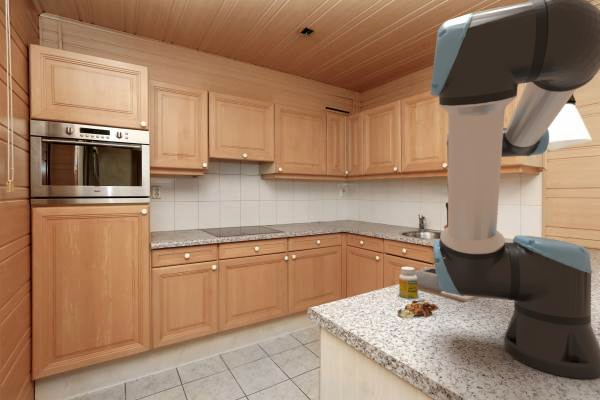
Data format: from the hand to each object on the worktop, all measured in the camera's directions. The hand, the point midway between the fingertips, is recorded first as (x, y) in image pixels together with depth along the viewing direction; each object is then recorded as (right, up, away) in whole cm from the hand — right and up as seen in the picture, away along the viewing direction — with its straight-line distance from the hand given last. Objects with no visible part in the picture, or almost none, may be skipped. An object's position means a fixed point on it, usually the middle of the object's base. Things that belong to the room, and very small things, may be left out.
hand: (461, 256), depth 94 cm
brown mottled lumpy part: (-18, -14, -11) cm, 25 cm away
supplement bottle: (-17, -13, 0) cm, 21 cm away
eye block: (-4, -12, +9) cm, 15 cm away
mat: (0, -12, 0) cm, 12 cm away
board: (-2, -13, +5) cm, 14 cm away
